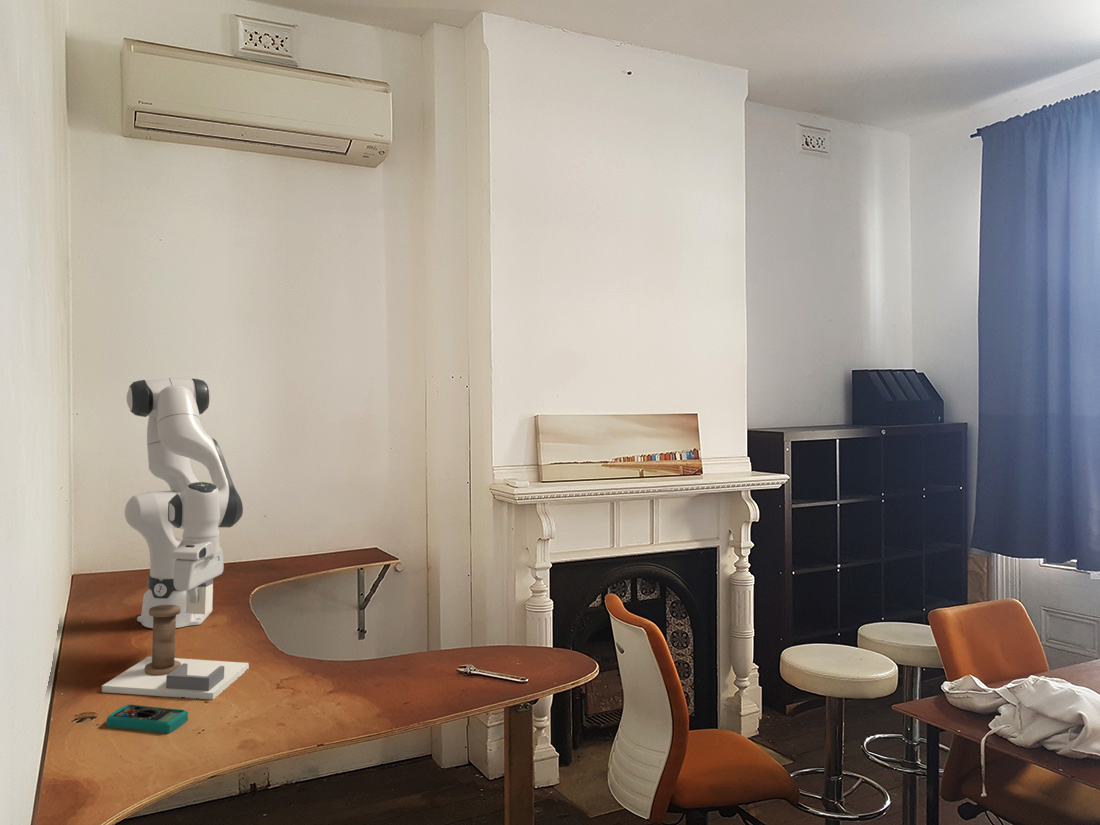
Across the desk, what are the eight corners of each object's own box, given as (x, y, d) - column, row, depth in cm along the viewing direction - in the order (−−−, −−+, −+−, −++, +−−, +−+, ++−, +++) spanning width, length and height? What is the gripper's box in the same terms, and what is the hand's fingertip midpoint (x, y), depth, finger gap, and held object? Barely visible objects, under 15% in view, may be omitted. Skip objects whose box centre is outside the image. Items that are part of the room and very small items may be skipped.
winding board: (148, 662, 207) (148, 644, 207) (248, 668, 206) (249, 651, 206) (101, 692, 187) (102, 672, 187) (212, 699, 186) (213, 680, 186)
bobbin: (155, 662, 203) (157, 603, 202) (186, 664, 203) (189, 605, 202) (137, 674, 195) (139, 612, 195) (170, 676, 195) (172, 614, 194)
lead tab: (193, 609, 212) (194, 578, 212) (212, 610, 212) (213, 579, 212) (185, 613, 208) (186, 582, 208) (205, 614, 208) (205, 583, 208)
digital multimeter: (125, 714, 177) (125, 701, 177) (189, 721, 175) (189, 708, 175) (103, 729, 170) (103, 715, 170) (169, 736, 168) (169, 722, 168)
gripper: (207, 538, 220) (206, 589, 221) (168, 553, 200) (167, 609, 200) (230, 539, 220) (229, 590, 220) (194, 554, 200) (192, 610, 200)
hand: (199, 599), depth 210 cm, fingers closed on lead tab, 4 cm apart
